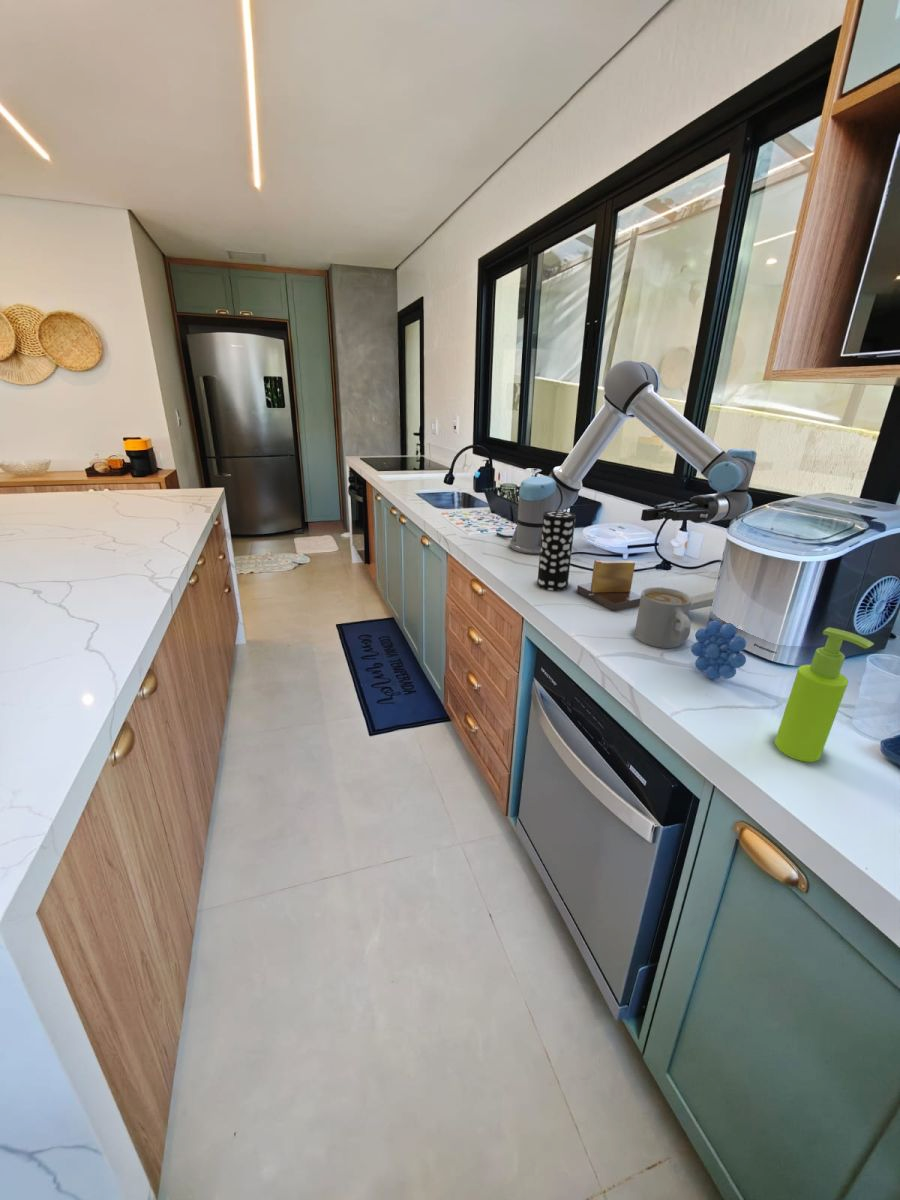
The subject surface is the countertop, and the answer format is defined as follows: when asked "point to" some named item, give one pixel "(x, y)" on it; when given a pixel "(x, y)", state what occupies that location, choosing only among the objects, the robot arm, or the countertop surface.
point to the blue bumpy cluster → (719, 650)
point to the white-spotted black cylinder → (555, 550)
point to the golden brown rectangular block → (612, 576)
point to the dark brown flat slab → (610, 598)
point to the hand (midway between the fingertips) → (643, 515)
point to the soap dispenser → (815, 699)
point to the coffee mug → (663, 617)
